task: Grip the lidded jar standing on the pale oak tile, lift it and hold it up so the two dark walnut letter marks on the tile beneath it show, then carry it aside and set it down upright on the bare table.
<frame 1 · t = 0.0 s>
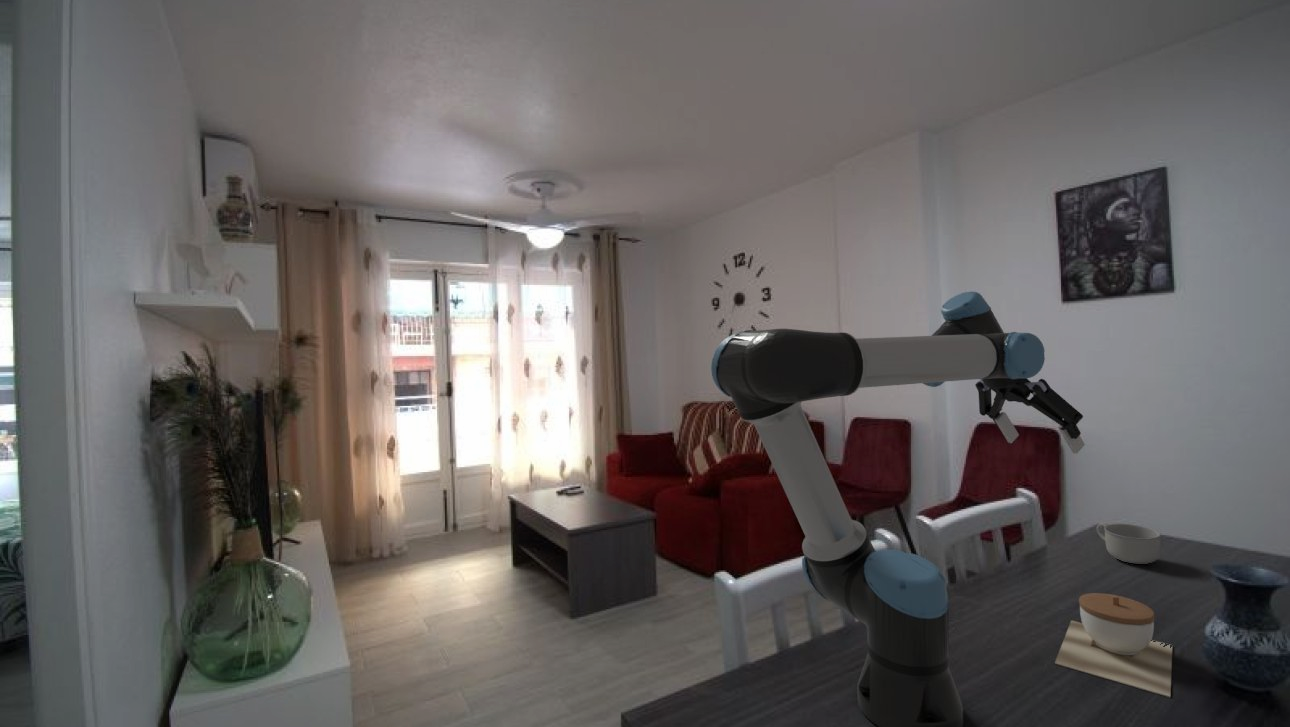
hand: (1044, 443, 116), 36 cm above the table, tool tilted 35°, fingers open, 13 cm apart
lidded jar: (1116, 647, 104), resting on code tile
teacup: (1126, 559, 145), on the table
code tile: (1114, 654, 102), on the table
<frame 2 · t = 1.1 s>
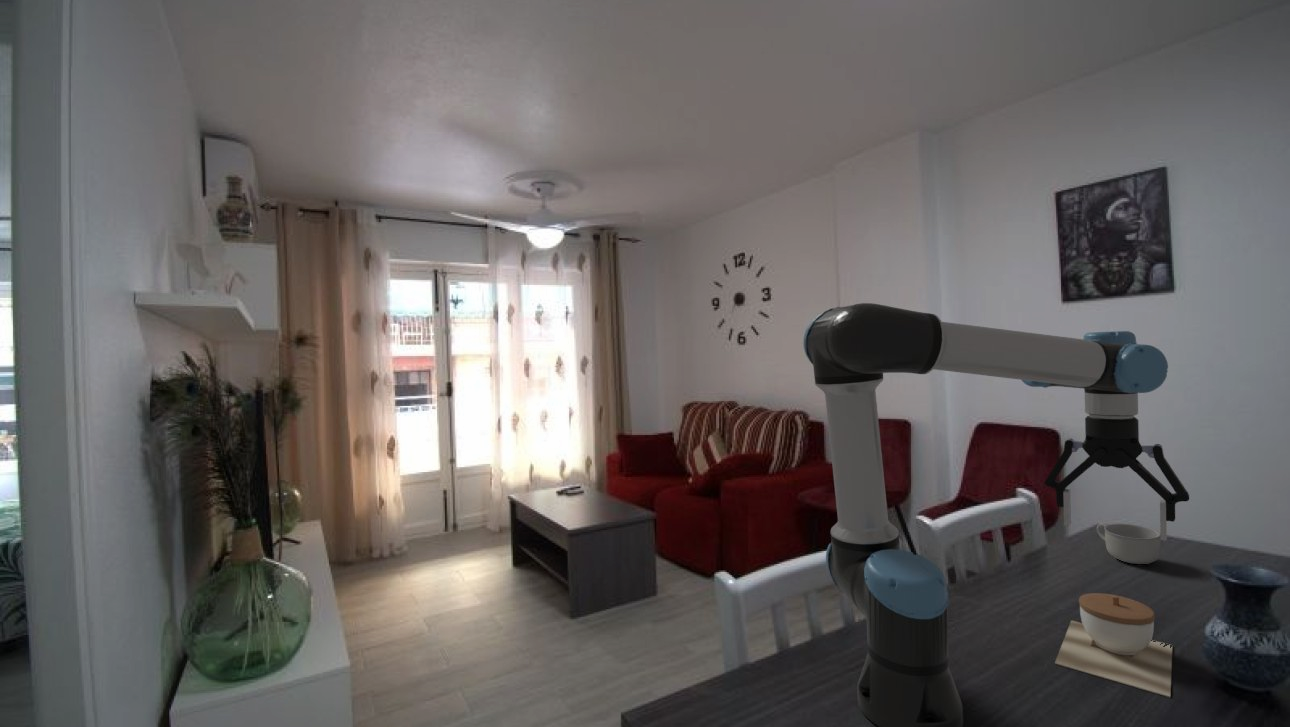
hand: (1113, 531, 104), 22 cm above the table, tool pointing down, fingers open, 13 cm apart
nothing on the table moved.
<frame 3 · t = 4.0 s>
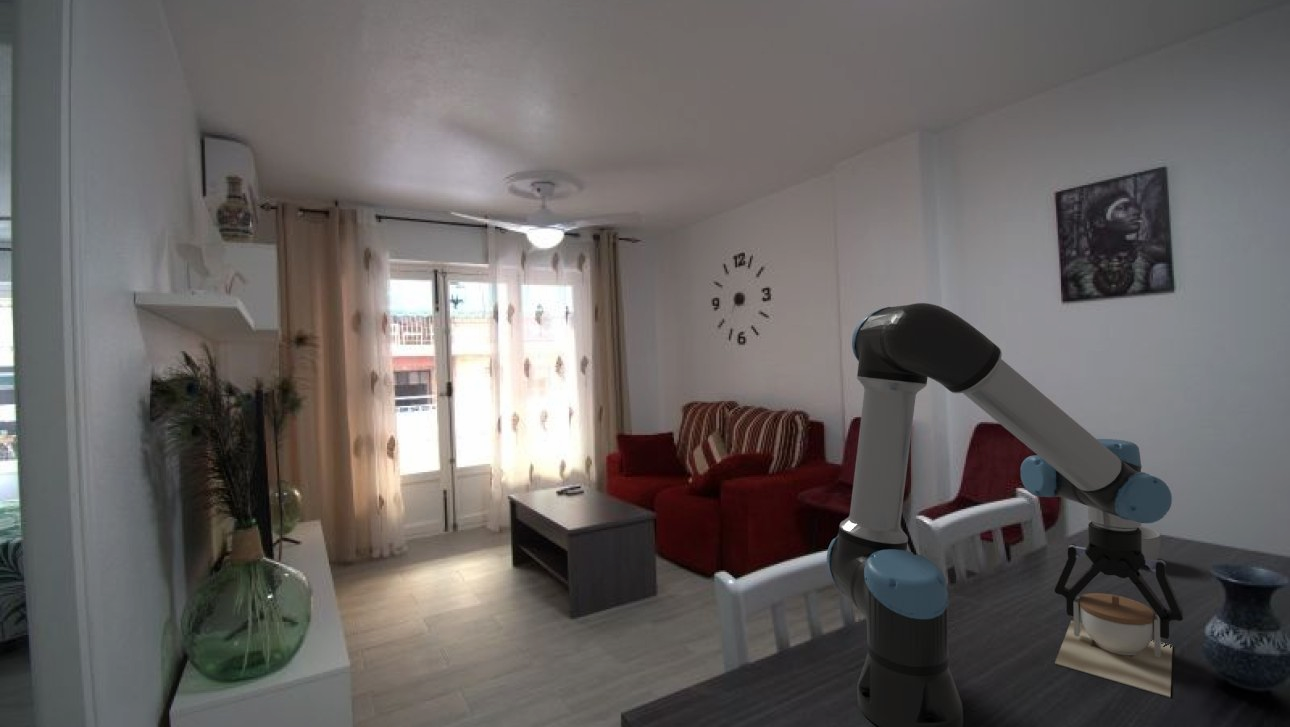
hand: (1116, 643, 104), 1 cm above the table, tool pointing down, fingers closed on lidded jar, 11 cm apart
lidded jar: (1116, 647, 104), resting on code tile, touching gripper
everything else where it was.
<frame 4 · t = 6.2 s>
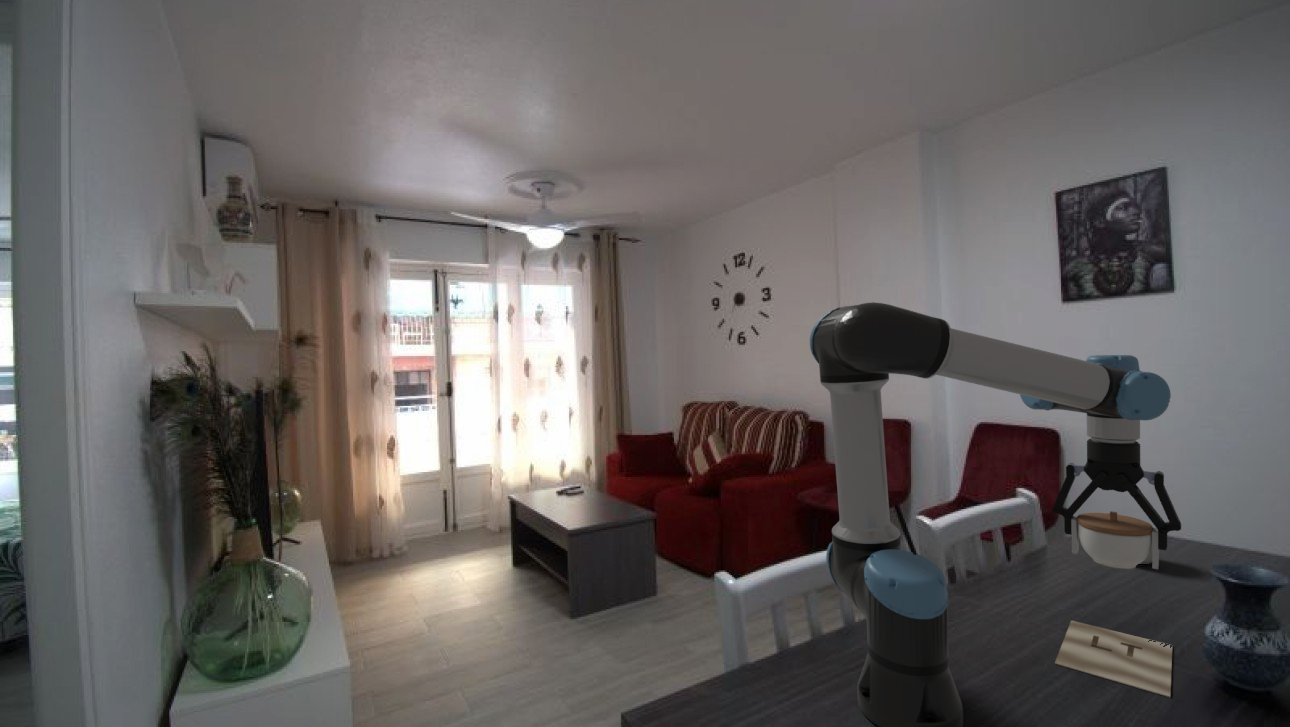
hand: (1113, 559, 104), 17 cm above the table, tool pointing down, fingers closed on lidded jar, 11 cm apart
lidded jar: (1113, 563, 104), point 16 cm above the table, touching gripper
everything else where it was.
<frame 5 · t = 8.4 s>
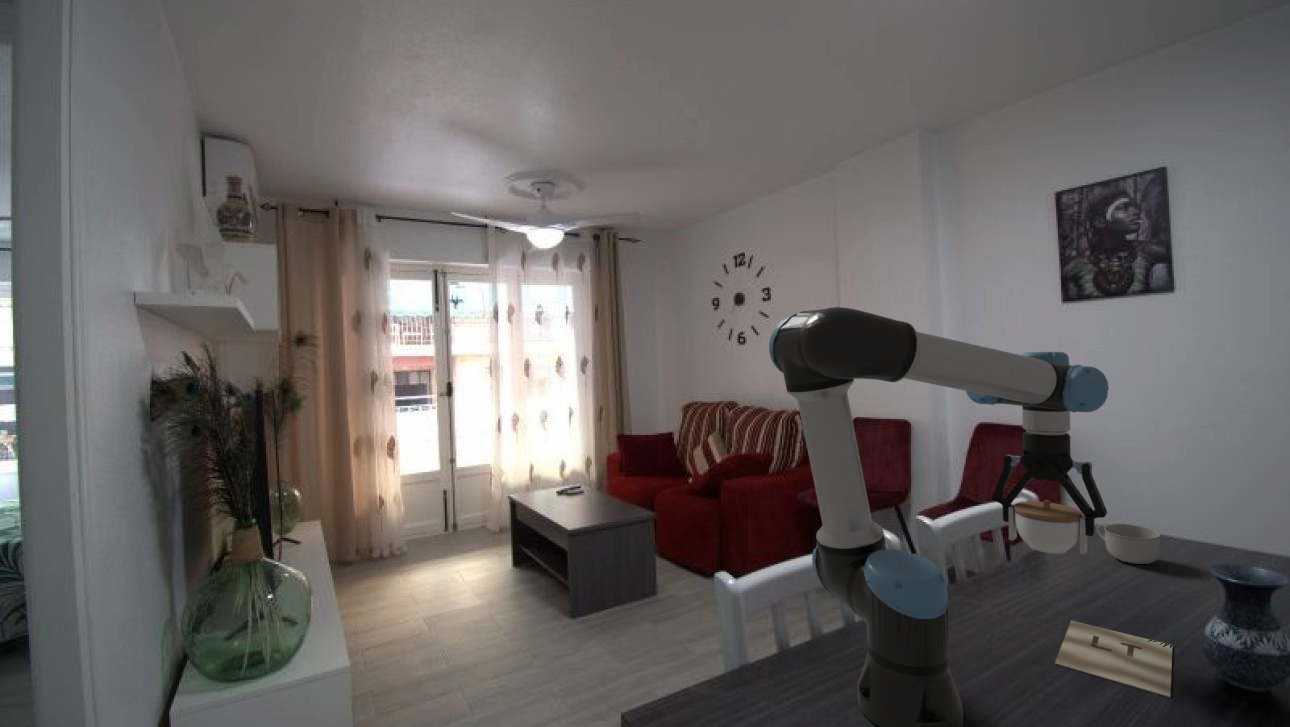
hand: (1046, 544, 110), 17 cm above the table, tool pointing down, fingers closed on lidded jar, 11 cm apart
lidded jar: (1047, 549, 110), point 17 cm above the table, touching gripper
everything else where it was.
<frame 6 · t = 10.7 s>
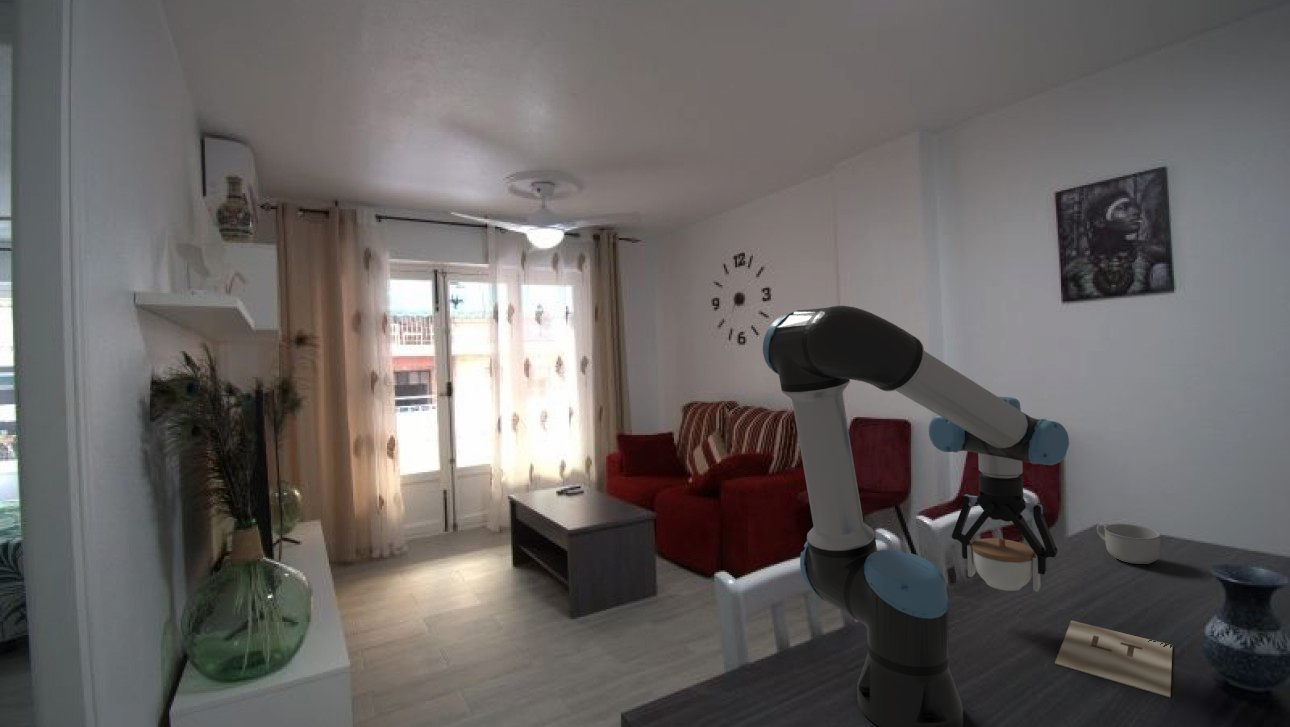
hand: (1003, 581, 115), 8 cm above the table, tool pointing down, fingers closed on lidded jar, 11 cm apart
lidded jar: (1003, 585, 115), point 8 cm above the table, touching gripper
everything else where it was.
when the fingers open (2 cm above the table, at t = 12.9 s): lidded jar drops 2 cm, on the table.
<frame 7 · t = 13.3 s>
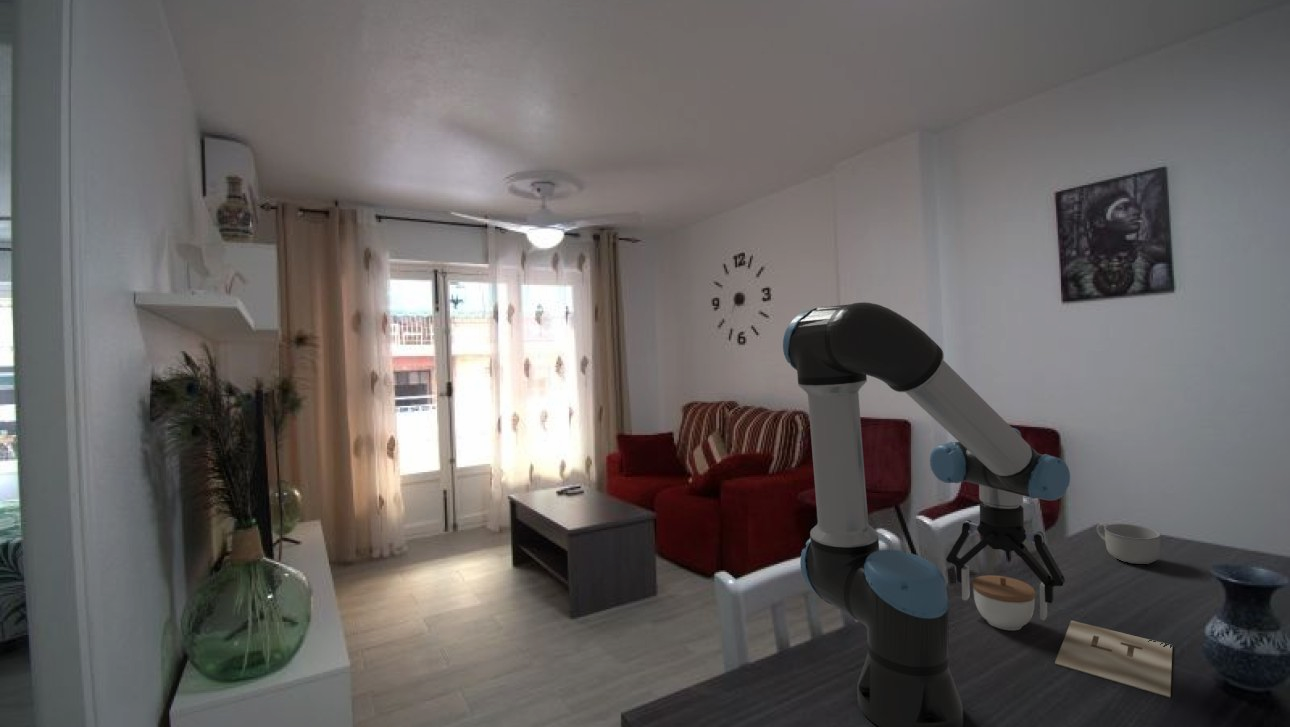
hand: (1003, 607, 115), 3 cm above the table, tool pointing down, fingers open, 13 cm apart
lidded jar: (1003, 624, 115), on the table
everything else where it was.
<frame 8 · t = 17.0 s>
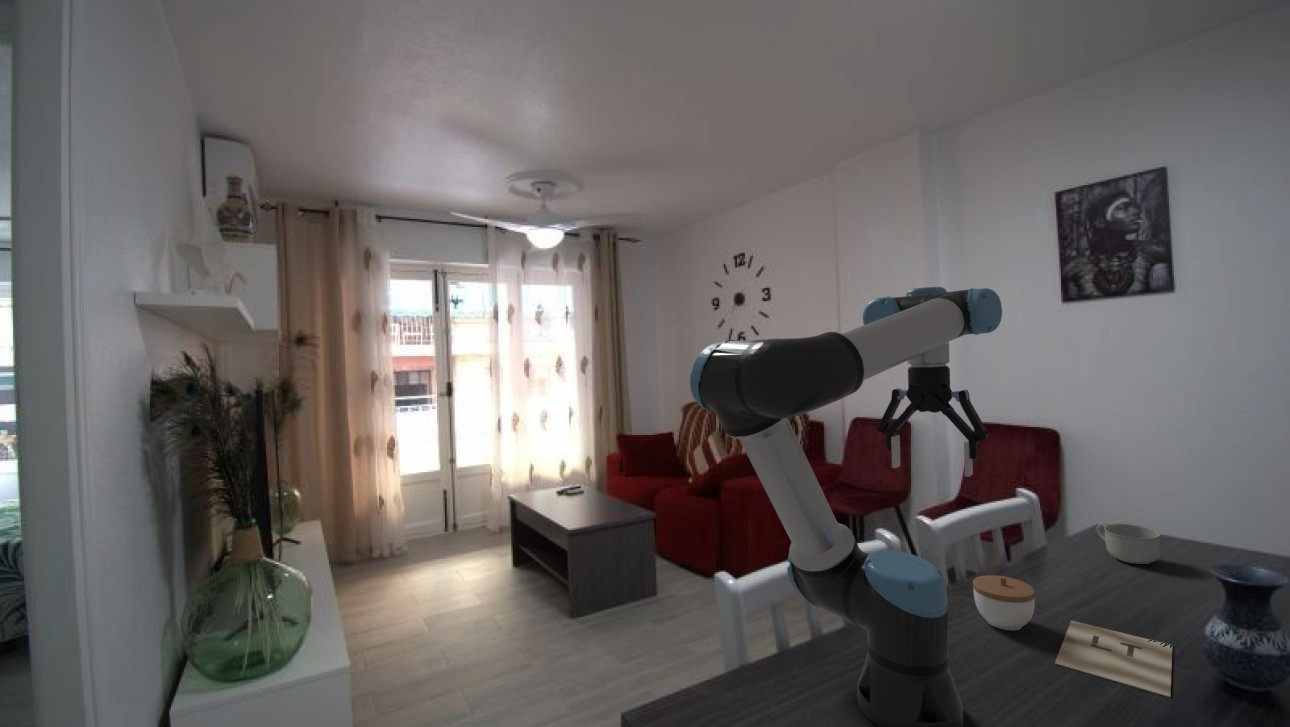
hand: (931, 471, 114), 32 cm above the table, tool pointing down, fingers open, 13 cm apart
nothing on the table moved.
at the end: lidded jar inside the target area (0.0 cm from its centre), on the table; lidded jar tilted 0°; the gripper is holding nothing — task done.
